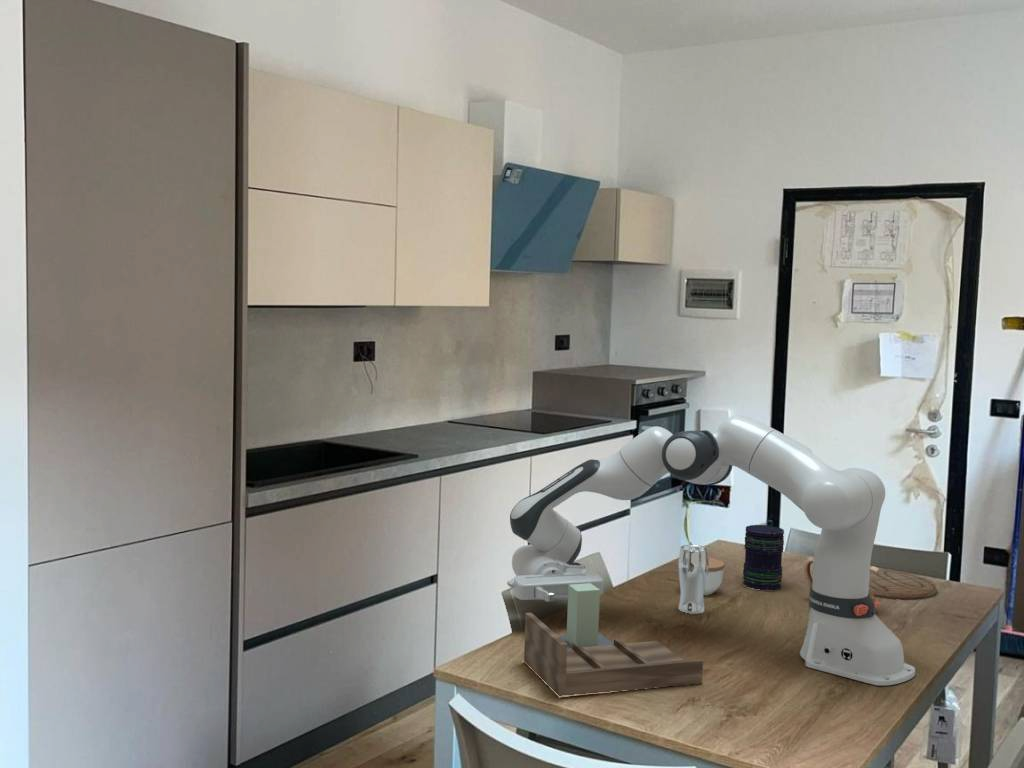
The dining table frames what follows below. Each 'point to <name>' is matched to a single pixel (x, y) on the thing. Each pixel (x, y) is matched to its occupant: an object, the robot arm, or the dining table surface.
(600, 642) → the mat
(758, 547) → the storage jar
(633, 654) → the lane shelf
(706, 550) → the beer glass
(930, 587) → the trivet
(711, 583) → the lidded jar
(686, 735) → the dining table surface
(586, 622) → the block
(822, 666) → the robot arm
